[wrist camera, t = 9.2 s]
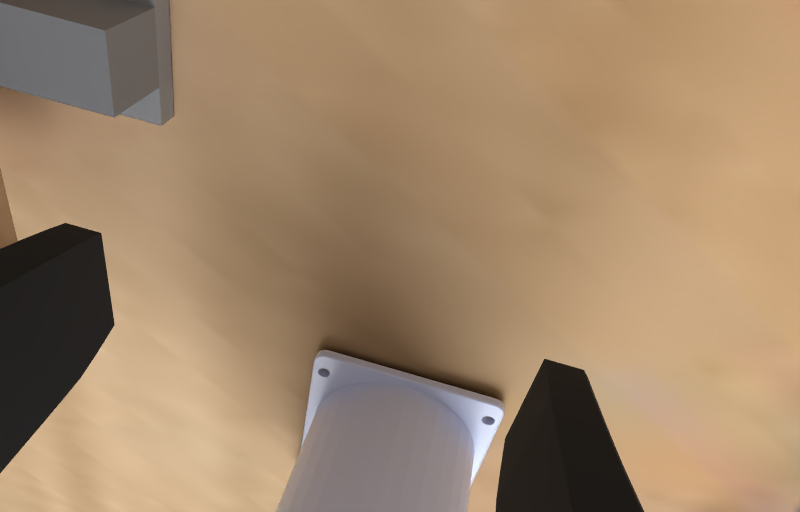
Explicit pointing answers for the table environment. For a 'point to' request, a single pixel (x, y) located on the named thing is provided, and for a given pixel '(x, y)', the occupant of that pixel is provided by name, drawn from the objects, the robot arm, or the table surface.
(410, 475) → the robot arm
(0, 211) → the batten
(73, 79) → the ridge
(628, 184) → the table surface
